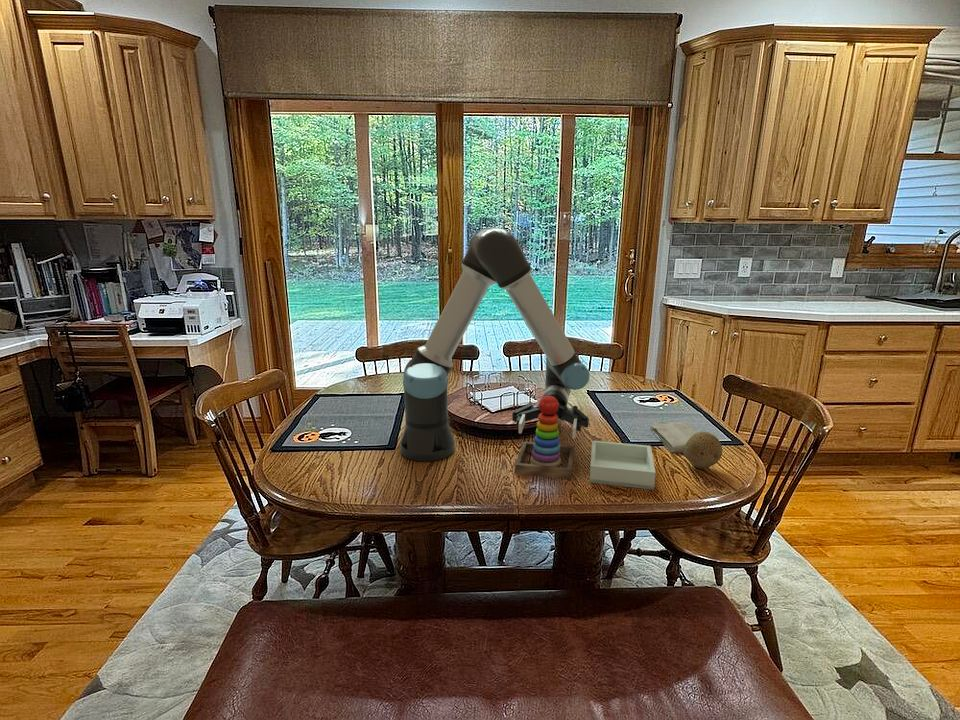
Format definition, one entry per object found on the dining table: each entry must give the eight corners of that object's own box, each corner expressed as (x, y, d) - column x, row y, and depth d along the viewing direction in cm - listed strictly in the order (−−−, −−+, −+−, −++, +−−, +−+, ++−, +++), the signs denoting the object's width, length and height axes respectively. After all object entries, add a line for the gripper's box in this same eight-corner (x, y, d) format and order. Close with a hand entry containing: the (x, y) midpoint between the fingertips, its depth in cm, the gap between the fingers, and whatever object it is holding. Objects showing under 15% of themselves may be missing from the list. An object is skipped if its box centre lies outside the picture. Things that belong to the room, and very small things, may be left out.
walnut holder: (514, 473, 129) (515, 464, 129) (523, 449, 142) (523, 441, 142) (570, 479, 126) (571, 470, 126) (574, 454, 139) (574, 446, 139)
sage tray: (589, 482, 125) (590, 465, 124) (591, 455, 139) (592, 440, 138) (653, 489, 121) (655, 472, 120) (649, 461, 135) (650, 445, 134)
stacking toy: (560, 472, 130) (563, 403, 125) (528, 469, 131) (530, 400, 126) (561, 458, 137) (564, 392, 132) (532, 455, 139) (533, 390, 134)
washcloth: (684, 428, 158) (685, 418, 157) (713, 454, 141) (715, 443, 140) (646, 429, 157) (647, 419, 156) (671, 455, 140) (672, 445, 139)
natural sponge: (720, 480, 126) (726, 443, 123) (682, 474, 129) (686, 437, 126) (718, 464, 134) (722, 428, 131) (681, 458, 137) (685, 424, 134)
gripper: (597, 417, 147) (596, 449, 127) (512, 410, 153) (498, 439, 133) (599, 393, 145) (598, 421, 125) (512, 387, 151) (498, 412, 131)
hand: (546, 430), depth 129 cm, fingers open, 13 cm apart
